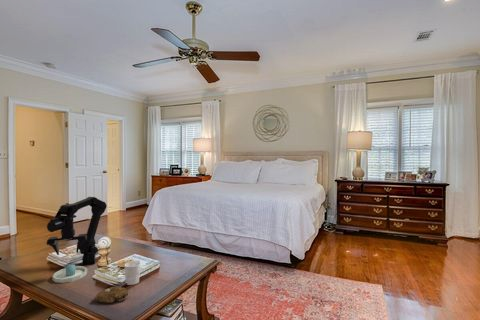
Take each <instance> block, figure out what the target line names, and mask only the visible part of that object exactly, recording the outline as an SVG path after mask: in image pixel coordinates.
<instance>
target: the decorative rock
mask: <svg viewBox="0 0 480 320" xmlns="http://www.w3.org/2000/svg"><path fill="white" fill-rule="evenodd" d="M127 297H129V291H128V289H126V288H125V287H121V286H111V287H109V288H105V289H103V290H101V291H100V292H98V293H97V294H96V295H95V297H94V301H96V302H100V303H107V304H109V303H110V304H111V303H114V302H117V301H118V302H123V301H125V300H127Z"/></svg>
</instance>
